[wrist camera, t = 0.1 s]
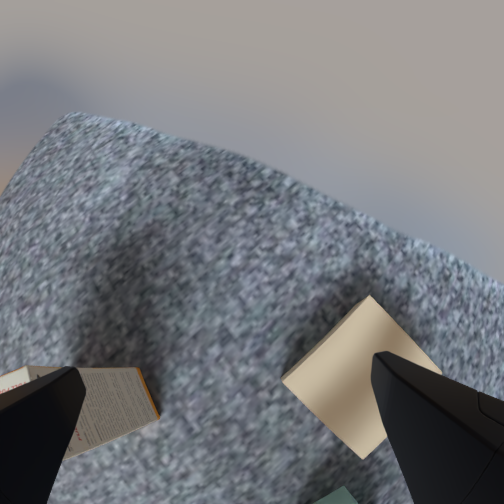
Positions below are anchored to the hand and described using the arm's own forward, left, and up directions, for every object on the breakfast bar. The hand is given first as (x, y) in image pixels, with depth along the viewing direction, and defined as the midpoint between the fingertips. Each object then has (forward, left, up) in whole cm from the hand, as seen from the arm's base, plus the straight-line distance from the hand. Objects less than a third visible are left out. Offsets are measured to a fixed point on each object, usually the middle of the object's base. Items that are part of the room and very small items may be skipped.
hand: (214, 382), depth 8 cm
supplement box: (+3, +12, -15) cm, 19 cm away
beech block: (-5, -6, -15) cm, 17 cm away
